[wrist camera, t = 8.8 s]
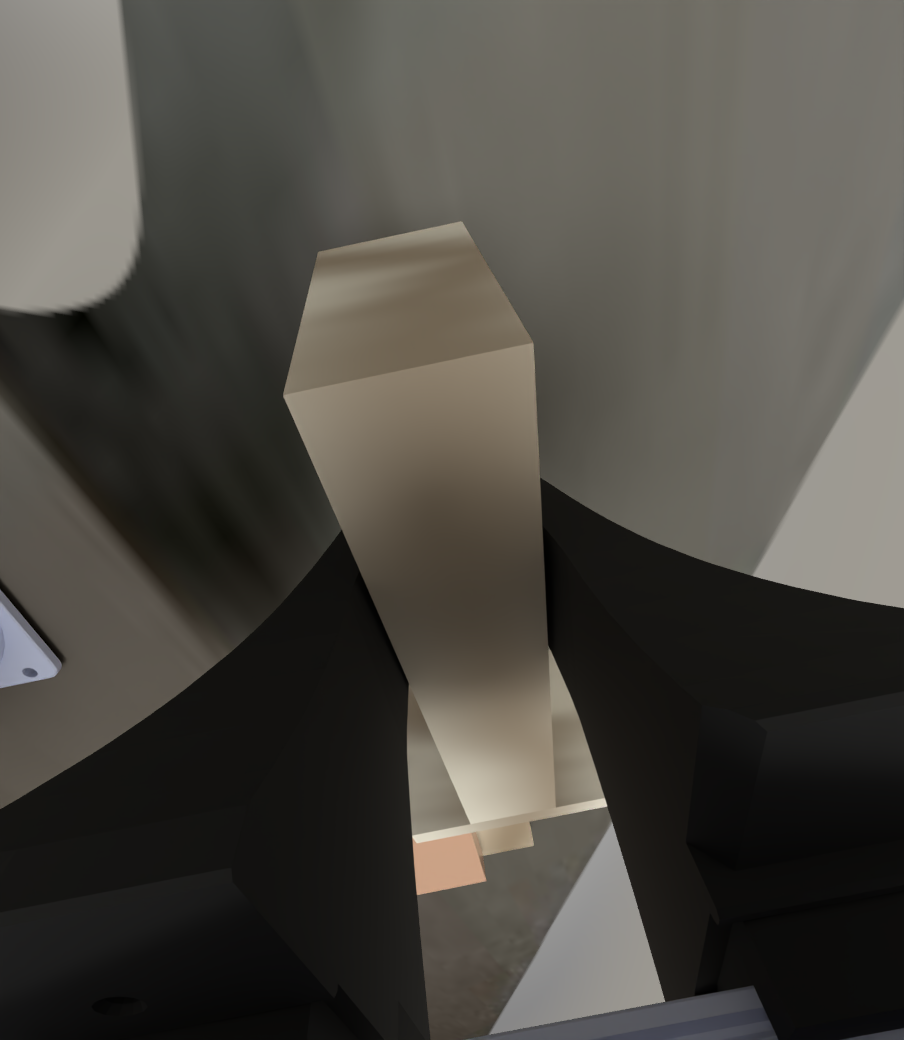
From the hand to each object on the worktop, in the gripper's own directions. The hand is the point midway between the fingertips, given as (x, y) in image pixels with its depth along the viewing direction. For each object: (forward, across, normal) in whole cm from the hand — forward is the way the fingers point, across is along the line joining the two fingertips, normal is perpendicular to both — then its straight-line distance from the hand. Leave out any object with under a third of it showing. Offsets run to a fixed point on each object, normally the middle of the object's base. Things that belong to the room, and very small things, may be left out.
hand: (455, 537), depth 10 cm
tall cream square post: (+3, 0, +2) cm, 3 cm away
